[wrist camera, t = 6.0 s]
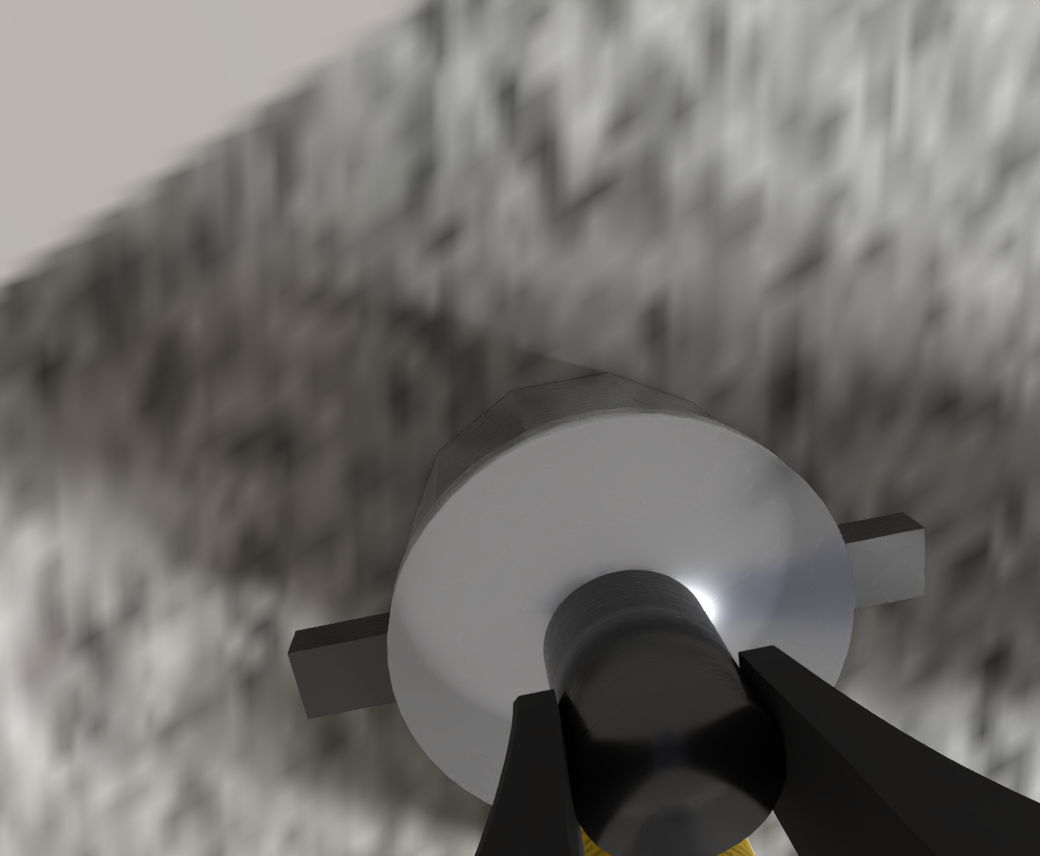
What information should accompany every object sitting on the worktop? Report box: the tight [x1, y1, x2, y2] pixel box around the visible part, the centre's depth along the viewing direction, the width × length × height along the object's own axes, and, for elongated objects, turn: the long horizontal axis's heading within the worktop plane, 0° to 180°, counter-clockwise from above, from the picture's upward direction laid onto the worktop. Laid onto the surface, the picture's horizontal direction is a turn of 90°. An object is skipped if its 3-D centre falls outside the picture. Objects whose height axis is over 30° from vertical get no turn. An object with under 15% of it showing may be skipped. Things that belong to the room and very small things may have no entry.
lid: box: [387, 407, 855, 856], centre depth 13 cm, size 9×9×4 cm
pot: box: [288, 373, 926, 719], centre depth 17 cm, size 13×9×4 cm, turn 100°
